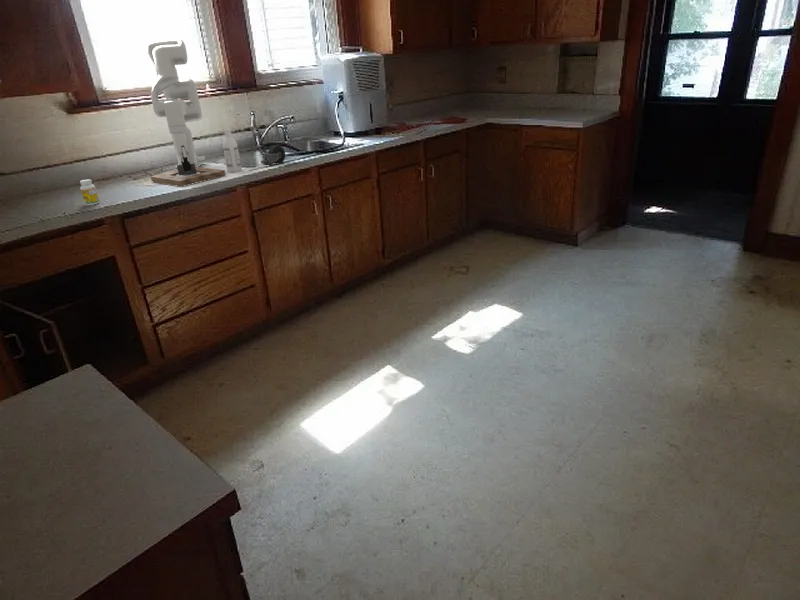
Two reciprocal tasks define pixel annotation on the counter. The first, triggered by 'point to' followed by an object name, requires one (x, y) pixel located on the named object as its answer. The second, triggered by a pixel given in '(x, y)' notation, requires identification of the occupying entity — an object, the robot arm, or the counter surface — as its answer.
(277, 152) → the caster wheel
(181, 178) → the brown wooden square frame
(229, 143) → the bath foam
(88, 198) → the supplement bottle
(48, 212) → the counter surface
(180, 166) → the dial
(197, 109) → the robot arm
